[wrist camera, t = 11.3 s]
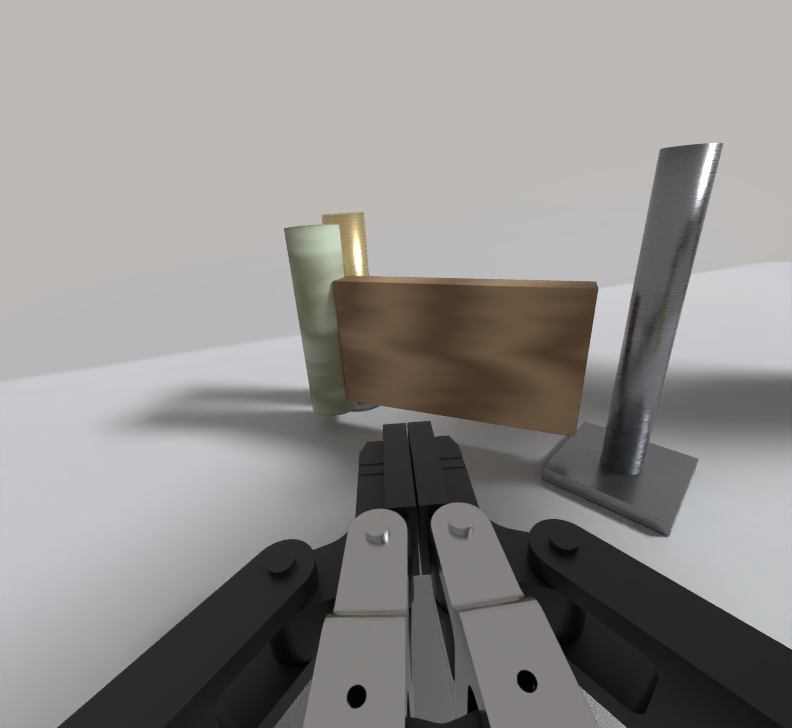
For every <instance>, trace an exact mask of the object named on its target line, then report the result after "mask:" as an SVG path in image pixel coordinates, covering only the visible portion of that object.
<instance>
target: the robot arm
mask: <svg viewBox="0 0 792 728" xmlns="http://www.w3.org/2000/svg"><path fill="white" fill-rule="evenodd" d="M407 427H408V438H407V430H406V423H399V424H386V425H383V441H374V442H367V443H366V444H365V446H364V447H363V449H362V450H361V452H360V457H359V472H358V487H357V502H356V516H355V519H354V520H353V522H352V523H351V525H350V527H349V530H348V532H347V533H346V534H345V535H344V536H343V537H341V538H340V539H338V540H337V541H335V542H333V543H331V544H328V545H325V546H323V547H320V548H317V549H315V550H312V548H311V547H310V546H309V545H308V544H307V543H305V542H303V541H300V540H295V539H288V540H282V541H279V542H276V543H274V544H272V545H270V546H268V547H267V548H265V549H264V550H263V551H262V552H260V553H259V554H258V555H257V556H256V557H255V558H253V559H252V560H251V561H250V562H249V563H248V564H247V565H245V566H244V567H243V568H242V569H241V570H240V571H238V572H237V573H236V574H235V575H234V576H233V577H231V578H230V579H229V580H228V581H227V582H226V583H224V584H223V585H222V586H221V587H220V588H219V589H218V590H216V591H215V592H214V593H213V594H212V595H211V596H209V597H208V598H207V599H206V600H205V601H204V602H202V603H201V604H200V605H199V606H198V607H197V608H195V609H194V610H193V611H192V612H191V613H190V614H189V615H187V616H186V617H185V618H184V619H183V620H182V621H180V622H179V623H178V624H177V625H176V626H175V627H173V628H172V629H171V630H170V631H169V632H168V633H166V634H165V635H164V636H163V637H162V638H161V639H160V640H158V641H157V642H156V643H155V644H154V645H153V646H151V647H150V648H149V649H148V650H147V651H146V652H144V653H143V654H142V655H141V656H140V657H139V658H137V659H136V660H135V661H134V662H133V663H132V664H131V665H129V666H128V667H127V668H126V669H125V670H124V671H122V672H121V673H120V674H119V675H118V676H117V677H115V678H114V679H113V680H112V681H111V682H110V683H108V684H107V685H106V686H105V687H104V688H103V689H102V690H100V691H99V692H98V693H97V694H96V695H95V696H93V697H92V698H91V699H90V700H89V701H88V702H86V703H85V704H84V705H83V706H82V707H81V708H79V709H78V710H77V711H76V712H75V713H74V714H73V715H71V716H70V717H69V718H68V719H67V720H66V721H64V722H63V723H62V724H61V725H60V726H59V727H57V728H274V726H275V725H276V724H277V723H278V721H279V720H280V719H281V717H282V716H283V715H284V713H285V712H286V711H287V710H288V708H289V707H290V706H291V704H292V703H293V702H294V700H295V699H296V698H297V697H298V695H299V694H300V693H301V691H302V690H303V689H304V687H305V686H306V685H307V684H308V682H309V681H310V680H311V678H312V677H313V678H312V683H311V688H310V693H309V698H308V703H307V708H306V713H305V718H304V723H303V728H599V727H598V725H597V722H596V720H595V718H594V716H593V714H592V712H591V710H590V708H589V706H588V704H587V702H586V699H585V697H584V695H583V693H582V691H581V689H580V687H581V688H582V689H584V690H585V691H586V692H587V693H588V694H589V695H590V696H592V697H593V698H594V699H595V700H596V701H597V702H598V703H600V704H601V705H602V706H603V707H604V708H605V709H606V710H608V711H609V712H610V713H611V714H612V715H613V716H614V717H616V718H617V719H618V720H619V721H620V722H621V723H622V724H624V725H625V726H626V727H627V728H792V650H791V649H790V648H788V647H786V646H785V645H783V644H781V643H779V642H778V641H776V640H774V639H772V638H771V637H769V636H767V635H765V634H764V633H762V632H760V631H759V630H757V629H755V628H753V627H752V626H750V625H748V624H746V623H745V622H743V621H741V620H740V619H738V618H736V617H734V616H733V615H731V614H729V613H727V612H726V611H724V610H722V609H721V608H719V607H717V606H715V605H714V604H712V603H710V602H708V601H707V600H705V599H703V598H702V597H700V596H698V595H696V594H695V593H693V592H691V591H689V590H688V589H686V588H684V587H683V586H681V585H679V584H677V583H676V582H674V581H672V580H670V579H669V578H667V577H665V576H664V575H662V574H660V573H658V572H657V571H655V570H653V569H651V568H650V567H648V566H646V565H644V564H643V563H641V562H639V561H638V560H636V559H634V558H632V557H631V556H629V555H627V554H625V553H624V552H622V551H620V550H619V549H617V548H615V547H613V546H612V545H610V544H608V543H606V542H605V541H603V540H601V539H600V538H598V537H596V536H594V535H593V534H591V533H589V532H587V531H586V530H584V529H582V528H581V527H579V526H577V525H575V524H573V523H570V522H568V521H564V520H558V519H548V520H543V521H540V522H538V523H537V524H535V525H534V526H533V528H532V529H531V531H530V533H529V532H524V531H518V530H513V529H508V528H505V527H502V526H499V525H497V524H495V523H494V522H492V521H490V520H489V518H488V516H487V515H486V514H485V513H484V512H483V511H482V510H481V509H480V508H479V506H478V504H477V500H476V497H475V494H474V491H473V488H472V485H471V482H470V479H469V476H468V473H467V470H466V468H465V464H464V461H463V459H462V455H461V452H460V448H459V445H458V444H457V443H456V442H455V441H454V440H453V439H451V438H450V437H449V436H437V437H434V434H433V430H432V426H431V422H430V421H424V422H411V423H407ZM408 445H409V446H408ZM418 544H419V552H420V560H421V569H422V575H427V574H431V579H432V586H433V603H434V610H435V614H436V619H437V623H438V628H439V633H440V637H441V642H442V647H443V651H444V656H445V660H446V665H447V670H448V674H449V679H450V684H451V688H452V694H453V700H454V708H455V716H456V719H455V720H453V721H451V722H448V723H443V724H440V723H434V722H430V721H426V720H422V719H418V718H414V698H413V610H412V604H413V600H414V582H413V576H417V575H420V572H419V553H418ZM579 686H580V687H579Z"/></svg>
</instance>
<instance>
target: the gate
mask: <svg viewBox="0 0 792 728" xmlns="http://www.w3.org/2000/svg"><path fill="white" fill-rule="evenodd" d="M284 232H285V237H286V244H287V250H288V256H289V263H290V268H291V275H292V281H293V287H294V294H295V300H296V306H297V312H298V318H299V324H300V330H301V337H302V343H303V349H304V356H305V362H306V368H307V374H308V380H309V387H310V393H311V399H312V405H313V410H314V411H315V412H316V413H318V414H320V415H324V416H336V415H342V414H345V413H348V412H350V411H352V410H353V409H354V408H355V407H356V406H357V404H358V402H362V403H368V404H374V405H380V406H387V407H393V408H399V409H405V410H411V411H418V412H424V413H430V414H436V415H442V416H449V417H455V418H461V419H467V420H474V421H480V422H486V423H492V424H498V425H505V426H511V427H517V428H523V429H529V430H536V431H542V432H548V433H554V434H560V435H567V436H573V437H575V434H576V428H577V421H578V415H579V408H580V402H581V396H582V389H583V383H584V376H585V370H586V364H587V357H588V351H589V345H590V338H591V332H592V325H593V319H594V313H595V306H596V300H597V294H598V286H597V283H596V282H589V281H547V280H546V281H544V280H503V279H461V278H460V279H459V278H458V279H457V278H420V277H377V276H344V266H343V257H342V248H341V238H340V229H339V225H338V224H326V225H309V226H297V227H289V228H284Z"/></svg>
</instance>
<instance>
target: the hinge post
mask: <svg viewBox="0 0 792 728" xmlns="http://www.w3.org/2000/svg"><path fill="white" fill-rule="evenodd" d="M722 147H723V143H706V144H694V145H684V146H676V147H669V148H663V149H660V152H659V157H658V162H657V167H656V172H655V177H654V183H653V189H652V193H651V198H650V203H649V209H648V214H647V219H646V224H645V229H644V235H643V240H642V245H641V250H640V256H639V260H638V265H637V271H636V276H635V281H634V286H633V291H632V297H631V302H630V307H629V312H628V317H627V322H626V328H625V333H624V338H623V343H622V348H621V354H620V359H619V364H618V369H617V374H616V379H615V385H614V390H613V395H612V400H611V405H610V411H609V416H608V421H607V426H606V428H603V427H600V426H597V425H594V424H591V423H588V422H584V423H583V424H582V425H581V426H580V427H579V428H578V430H577V431H576V434H575V437H573V436H571V437H570V438H569V439H568V440H567V442H566V443H565V444H564V445H563V446H562V447H561V448H560V449H559V450H558V451H557V452H556V454H555V455H554V456H553V457H552V458H551V459H550V460H549V461H548V462H547V463H546V464H545V466H544V467H543V473H542V479H544V480H546V481H548V482H550V483H553V484H555V485H557V486H559V487H561V488H564V489H566V490H568V491H570V492H572V493H575V494H577V495H579V496H581V497H583V498H586V499H588V500H590V501H592V502H594V503H597V504H599V505H601V506H603V507H605V508H608V509H610V510H612V511H614V512H616V513H619V514H621V515H623V516H625V517H627V518H630V519H632V520H634V521H636V522H638V523H641V524H643V525H645V526H647V527H649V528H652V529H654V530H656V531H658V532H660V533H662V534H665V535H667V536H669V535H670V532H671V530H672V527H673V525H674V522H675V520H676V517H677V515H678V512H679V510H680V507H681V505H682V502H683V499H684V497H685V494H686V492H687V489H688V487H689V484H690V482H691V479H692V477H693V474H694V472H695V469H696V466H697V462H698V459H697V458H694V457H691V456H688V455H685V454H682V453H679V452H676V451H673V450H670V449H667V448H664V447H661V446H658V445H655V444H652V443H649V439H650V435H651V431H652V427H653V423H654V419H655V415H656V411H657V407H658V403H659V399H660V395H661V391H662V387H663V383H664V379H665V375H666V371H667V367H668V363H669V359H670V355H671V351H672V347H673V343H674V339H675V335H676V331H677V327H678V323H679V319H680V315H681V311H682V307H683V303H684V299H685V295H686V291H687V287H688V283H689V279H690V275H691V271H692V267H693V263H694V258H695V255H696V251H697V247H698V243H699V239H700V235H701V231H702V227H703V223H704V219H705V215H706V211H707V206H708V203H709V199H710V195H711V191H712V187H713V182H714V179H715V174H716V171H717V166H718V163H719V159H720V155H721V151H722Z"/></svg>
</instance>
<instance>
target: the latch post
mask: <svg viewBox="0 0 792 728" xmlns="http://www.w3.org/2000/svg"><path fill="white" fill-rule="evenodd" d="M322 222H323V225H326V224H338V225H339V229H340V238H341V248H342V257H343V266H344V276H369V272H368V259H367V246H366V234H365V222H364V213H363V212H361V213H339V214H327V215H322ZM378 406H379V405H374V404H368V403H362V402H358V404H357V406H356V407H355V408H354V409H353V410H352V411H364V410H369V409H373V408H375V407H378Z"/></svg>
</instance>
